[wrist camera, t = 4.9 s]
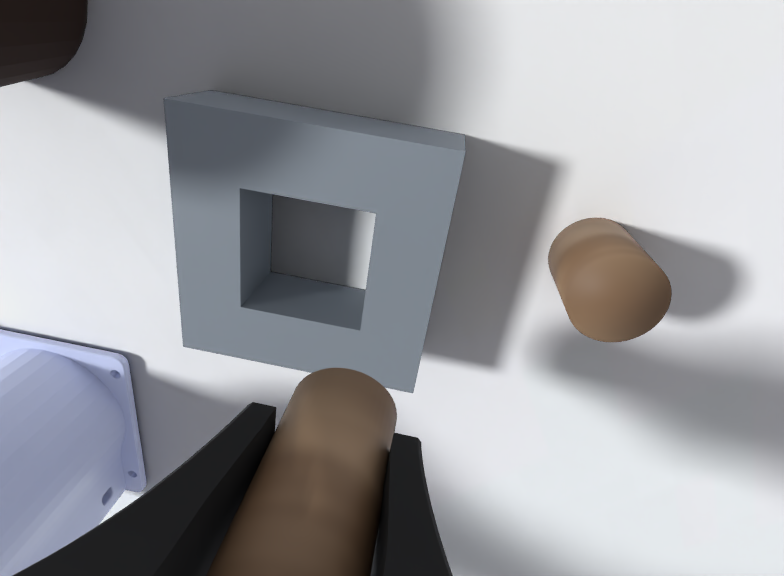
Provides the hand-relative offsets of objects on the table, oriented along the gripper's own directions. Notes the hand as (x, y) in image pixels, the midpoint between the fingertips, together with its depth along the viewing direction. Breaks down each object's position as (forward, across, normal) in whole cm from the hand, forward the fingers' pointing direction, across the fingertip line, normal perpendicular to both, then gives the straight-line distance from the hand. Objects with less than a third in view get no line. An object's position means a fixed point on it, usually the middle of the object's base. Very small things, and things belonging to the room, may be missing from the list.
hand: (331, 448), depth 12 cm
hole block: (+8, +2, -2) cm, 9 cm away
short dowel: (+8, -8, -3) cm, 12 cm away
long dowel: (+2, 0, 0) cm, 2 cm away
